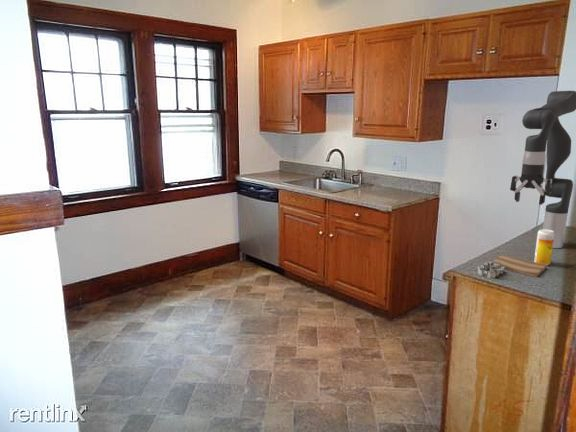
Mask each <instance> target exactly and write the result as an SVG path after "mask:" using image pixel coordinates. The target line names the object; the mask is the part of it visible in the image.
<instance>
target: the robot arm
mask: <svg viewBox="0 0 576 432" xmlns="http://www.w3.org/2000/svg"><path fill="white" fill-rule="evenodd" d="M575 111H576V90H556V91H555V90H554V91H551V92H550V93H548V95H547V99H546V104H544V105H542V106H541V107H536V108H532V109H530V110H527V111H526V112H525V114H524V115H523V117H522V125H523V127H524V128H526V129H527V130H540V132H539V133H538V134H532V135H528V136H527V137H526V138H525V145H524V151H523V153H524V154H523V156H522V157H523V158H522V164H521V165H522V166H521V172H520V173H521V175H520V176H517V175H513V176H512V177H511V183H510V188H509V190H510V191H513V192H514V201H515V202H517V203H518V202H520V199H521V192H520V191H522V190H523V189H524V188H526V189H532V190H535V189H536V190H537V192H538V193H539V194H540V195H539V202H538V205H540V206H542V205H543V204H545V201H546V196H547V197H549V198H556V199H561V200H560V201H558V202H553V203H549V204H548V203H547V204H546V206H545V209H544V210H545V211H544V218H543V225H542V229H548V230H552V231H554V241H553V248H552V249H560V248H561V249H562V248H563V247H564V240H565V234H566V228H567V221H568V215H569V208H570V203H571V197H572V193H573V187H574V182H573V180H572V179H568V178H561V177H560V178H558V177H556V173H557V171H558V169H560V167H561V166H562V165H563V164H564V163H565V162H566V161H567V160H568V158H569V157H570V156H571V153H572V139H571V136H570V134H569V132H568V131H566V129H565V128H564V127H563V125H562V124H561V122H560V119H559V117H561V116H564V115H567V114H570V113H574V112H575ZM545 164H546V171H545ZM545 172H546V173H545ZM544 173H545V178H544ZM519 181H520V183H521V184H520V185H519V186H518V187H517V182H519ZM543 183H544V187H543V185H542V184H543Z"/></svg>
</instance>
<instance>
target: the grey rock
mask: <svg viewBox="0 0 576 432" xmlns="http://www.w3.org/2000/svg"><path fill="white" fill-rule="evenodd" d="M476 270H477V274H478V275H479V276H486V277H487V278H489V279H492V278H493V279H494V278H496V277H498V276H500V275H501V274H503V271H504V266H503V267H502V266H501V265H498V264H496V263H493V262H492V261H490V260H488V261H486V262H483V264H480V265H477V269H476Z"/></svg>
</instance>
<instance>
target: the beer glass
mask: <svg viewBox="0 0 576 432" xmlns="http://www.w3.org/2000/svg"><path fill="white" fill-rule="evenodd" d="M553 241H554V231H552V230H548V229H543V228H541V229H538V231H537V236H536V244H535V251H534V258H533V262H535V263H539V264H544V265H547V266H549V265H550V264H551V261H552V260H551V259H552V255H553V254H552V253H553V249H554V248H553Z"/></svg>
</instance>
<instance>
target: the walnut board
mask: <svg viewBox="0 0 576 432" xmlns="http://www.w3.org/2000/svg"><path fill="white" fill-rule="evenodd" d="M491 262H493V263H496V264H498V265H501V266H502V267H503V266H504V269H503V271H504V270H505V271H509V272H514V273H517V274H521V275H526V276H531V277H534V278H538V276H540V275H541V274H542V273H543V272H544V271H545V270H546V269H547V266H548V265H544V264H539V263H535V262H534V261H529V260H525V259H521V258H517V257H512V256H506V255H499V256H498V257H497V258H495V259H494V260H492V261H491Z"/></svg>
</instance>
